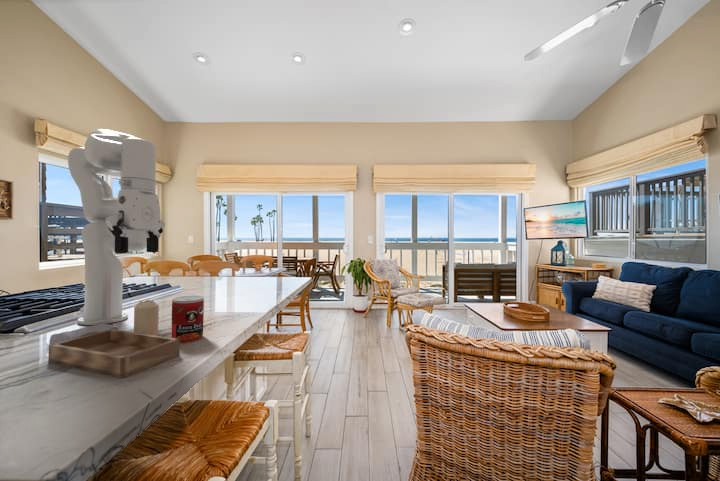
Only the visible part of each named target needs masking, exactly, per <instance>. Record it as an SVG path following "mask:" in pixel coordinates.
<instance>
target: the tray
mask: <svg viewBox="0 0 720 481" xmlns="http://www.w3.org/2000/svg"><path fill="white" fill-rule="evenodd" d="M180 349H181V343H180V339H176V338H172V337H169V336H163V335H162V336H161V335H158V336H155V335H148V334H142V333H135V332H134V331H127V330H120V329H119V330H114V329H110V330H106V331H102V332H98V333H95V334H91V335H87V336H83V337H79V338H75V339H71V340H67V341H63V342H59V343H55V344H51V345H50V344H48V364H53V365H56V366H57V365H58V366H62V367H68V368H71V369H77V370H82V371H88V372H92V373H95V374H101V375H105V376H111V377H116V378H121V379H126V378H129V377H130V376H132V375H136V374H137V373H139V372H142V371H146V370H147V369H150V368H152V367H155V366H157V365H160V364H162V363H165V362H167V361H169V360H172V359H174V358H177V357H179V356H181V354H180V352H181V350H180Z"/></svg>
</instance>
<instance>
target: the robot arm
mask: <svg viewBox="0 0 720 481" xmlns="http://www.w3.org/2000/svg"><path fill="white" fill-rule="evenodd" d="M156 147H157V146H156V145H155V144H154V143H153V142H152V141H149V140H147V139H143V138H139V137H137V136H135V135H131V134H129V133H128V134H127V133H123V132H119V131H114V130H111V129H103V128H97V129H94V130H92V131H91V132H89V134H88V136H87V138H86V140H85V142H84V146H78V147H77V146H76V147H73V148H71V150H70V151H69V152H68V155H67V164H68V170H69V172H70V176H71V177H72V179H73V181H74V183H75V184H76V186H77V188H78V190H79V193H80V199H81V205H82V211H83V214H84V217H85V220H86V221H88V222H89V223H88V224H86V225H85V226H83V228H82V229H81V240H82V246H83V253H84V303H83V304H84V305H83V307H81V308H80V309H79V312H80V313H83V314H82V316H81V317H78V319H77V324H78V325H82V326H94V325H98V324H108V325H109V324H114V323H119V322H122V321H125V320H126V319H128V317H129V314H128V313H126V312H123V288H124V287H123V284H124V283H123V279H124V276H123V275H124V272H123V271H124V267H123V266H124V265H123V263H122V261H121V260H120V259H119V257H117V256H116V255H115V254H128V253H129V252H141V251H143V250H146V252H147V253H159V243H160V242H159V241H160V240H159V239H160V238H161V234H162V233H163V231H164V227H165V225H166V223H165V222H164V221H163V220H162V219H161V207H160V206H161V205H160V201H159V196H158V194H156V173H157V172H156V170H157V168H156V167H157V166H156V164H157V149H156ZM98 174H99V175H98ZM100 175H104V176H105V175H106V176H112V177H113V176H114V177H118V178H119V177H120V178H119V180H118V184H119V185H120V190H118V194H117V197H115V196H114V194H113V189H112V187H111V186H110V185H109V183H108V182H106V180H105V179H104V178H102V177H101V176H100ZM114 253H115V254H114Z"/></svg>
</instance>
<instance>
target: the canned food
mask: <svg viewBox="0 0 720 481" xmlns="http://www.w3.org/2000/svg"><path fill="white" fill-rule="evenodd" d="M204 300H205V299H204V296H202V295H181V296H175V297H174V298H172V299H171V334H170V335H171V337H170V338H176V339H180V344H182V343H191V342H195V341H196V342H197V341H199V340H200V339H202V338H203V335H204V315H205V314H204V312H205V311H204V310H205V308H204V307H205V303H204V302H205V301H204Z"/></svg>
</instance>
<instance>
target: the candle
mask: <svg viewBox="0 0 720 481" xmlns="http://www.w3.org/2000/svg"><path fill="white" fill-rule="evenodd" d="M159 306H160V305H159V304H158V303H157V302H156V301H154V300H149V299H147V300H144V301H142V300H139V302H138V303H136V305H134V309H133V332H135V333H142V334H148V335H155V336H159V315H160V314H159V312H160V311H159V309H160V308H159Z"/></svg>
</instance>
